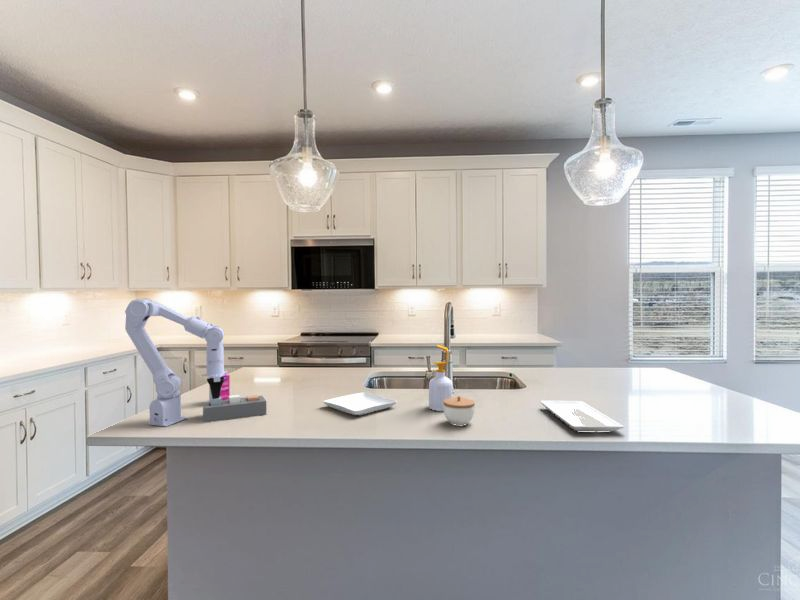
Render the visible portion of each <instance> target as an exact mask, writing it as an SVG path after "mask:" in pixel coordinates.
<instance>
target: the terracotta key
mask: <svg viewBox="0 0 800 600" xmlns="http://www.w3.org/2000/svg"><path fill="white" fill-rule="evenodd" d="M258 396H259V395H257V394H255V395H246V397H247V402H249V401H258V400H259V397H258Z"/></svg>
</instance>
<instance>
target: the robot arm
mask: <svg viewBox="0 0 800 600" xmlns="http://www.w3.org/2000/svg"><path fill="white" fill-rule="evenodd" d="M124 313H125V326H124V327H125V332H126V333H127V335H128V337H129V339H130V340H131V341H132V344H133V345H134V347H135V348H136V350H137V352H138V353H139V354H140V356H141V358H142V360H143V361H144V363H145V364H146V366H147V368H148V369H149V371H150V373H151V374H152V379H153V384H154V385H155V392H156V394H157V395H156V399H154V400H152V401H151V403H149V422H148V423H147V425H151V426H157V427H168V426H170V425H174V424H176V423H178V422H181V421H184V420H186V419H188V417H187V416H182V402H181V400H182V398H181V397H182V396H181V395H182V394H181V392H180V390H179V389H180V388H181V387H182V379H181V378H180V376H178V375H177V374H175V373H174V372H173V370H172V369H171V368H169V367H168V365H167V364H166V362H165V361H164V359H163V357H162V355H161V354H160V352H159V350H158V348H157V346H156V345H155V344H154V342H153V341H152V338H151V337H150V336H149V333H148V332H147V331H146V329H145V326H146V324H147V321H148V320H149V318H151V317H162V318H165V319H167V320H169V321H172V322H174V323H177V324H178V325H181V326H183V327H184V330H185V332H187V333H190V334H191V335H194V336H196V337H198V338H201V339H204V340H205V341H206V373H205V374H206V376H207V377H211V378H206V381H207V384H208V385H210V389H211V394H212V398H213V399H216V398H219V396H220V391H221V387H222V384H223V382H224V377H222V376H223V375H224V374H227V375H229V374H228V370H225V355H224V354H225V349H224V341H223V339H224V337H225V333H224V330H223V329H222V327H220V326H219V325H215V324H214V323H209V322H207V321H205V320H203V319H202V317H201V316H193V315H192V316H190V317H188V316H187V315H185V314H182V313H180V312H178V311H176V310H175V309H173V308H170V307H168V306H167V305H164V304H162V303H161V302H157V301H153V300H152V299H150V298H141V299H140V298H137V299H133V300H131V301H130V302H129V303H128V305H127V307H126V308H125V310H124Z"/></svg>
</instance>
